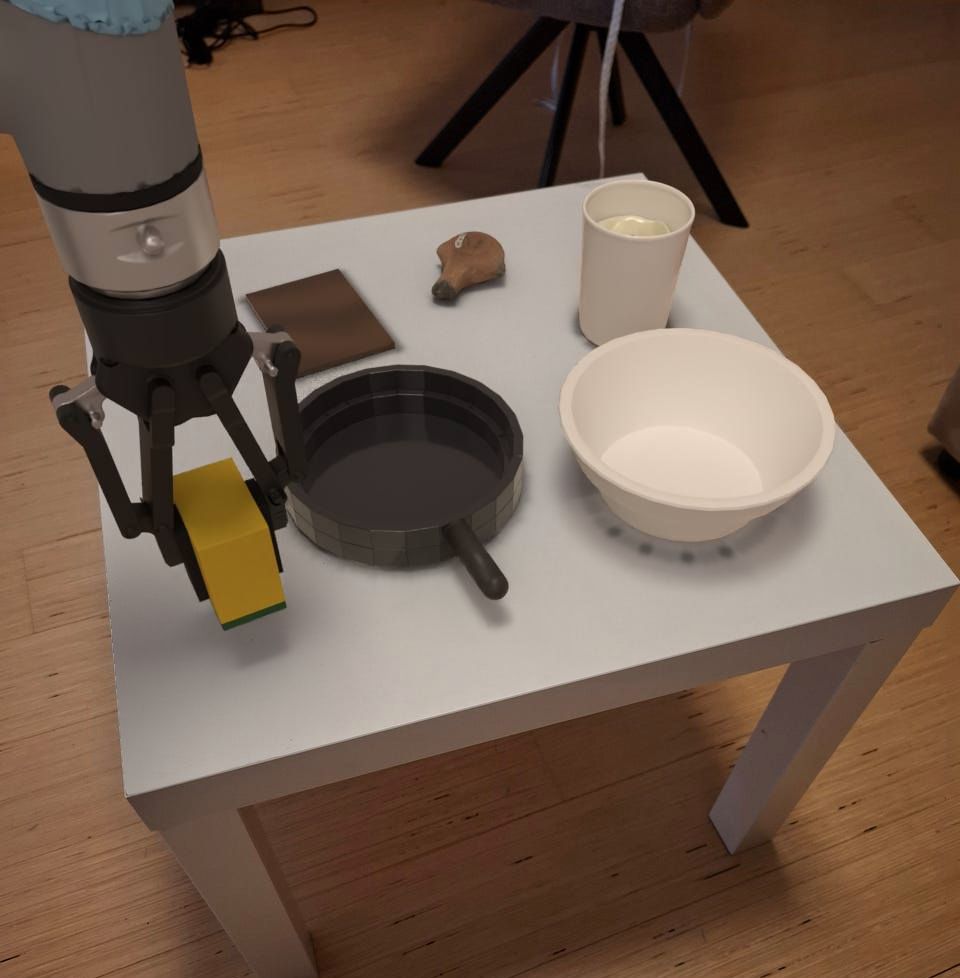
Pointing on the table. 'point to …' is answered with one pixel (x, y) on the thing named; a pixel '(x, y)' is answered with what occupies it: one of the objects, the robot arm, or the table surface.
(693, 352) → the bowl
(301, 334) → the brown flat slab
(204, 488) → the sponge
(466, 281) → the oil lamp
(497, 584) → the pan handle
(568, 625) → the table surface
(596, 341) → the candle holder
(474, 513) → the pan
